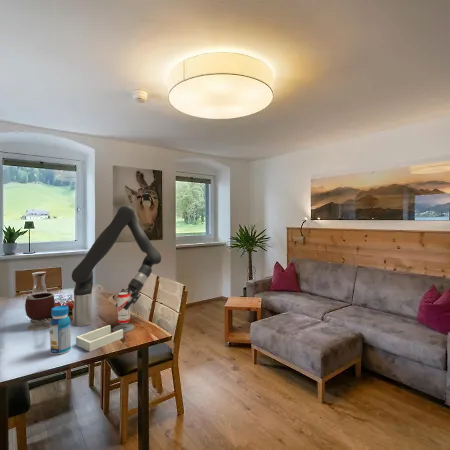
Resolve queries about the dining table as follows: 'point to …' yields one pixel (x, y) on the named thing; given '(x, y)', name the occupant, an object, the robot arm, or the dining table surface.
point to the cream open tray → (89, 345)
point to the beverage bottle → (60, 331)
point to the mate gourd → (39, 309)
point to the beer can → (122, 313)
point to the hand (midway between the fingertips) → (121, 308)
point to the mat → (124, 327)
